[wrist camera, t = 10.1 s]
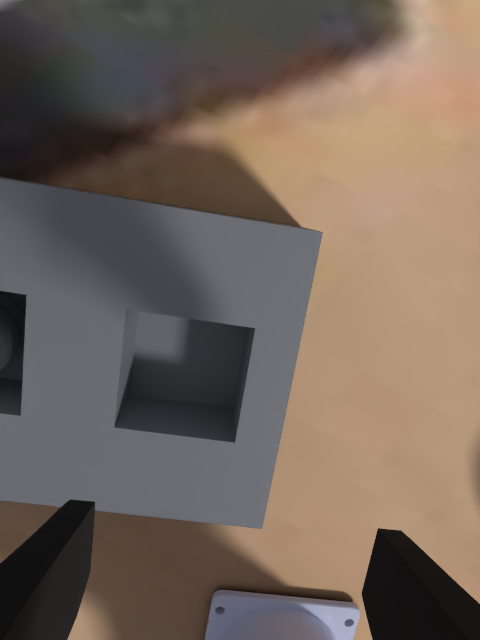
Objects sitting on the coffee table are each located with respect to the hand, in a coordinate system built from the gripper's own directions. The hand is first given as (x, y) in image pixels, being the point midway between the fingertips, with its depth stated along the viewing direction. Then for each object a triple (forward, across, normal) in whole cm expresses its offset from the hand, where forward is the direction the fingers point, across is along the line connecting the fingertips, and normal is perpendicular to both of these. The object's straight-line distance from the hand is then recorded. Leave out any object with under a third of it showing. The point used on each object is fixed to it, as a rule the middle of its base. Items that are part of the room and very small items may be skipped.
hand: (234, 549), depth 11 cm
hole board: (+10, +6, -2) cm, 12 cm away
